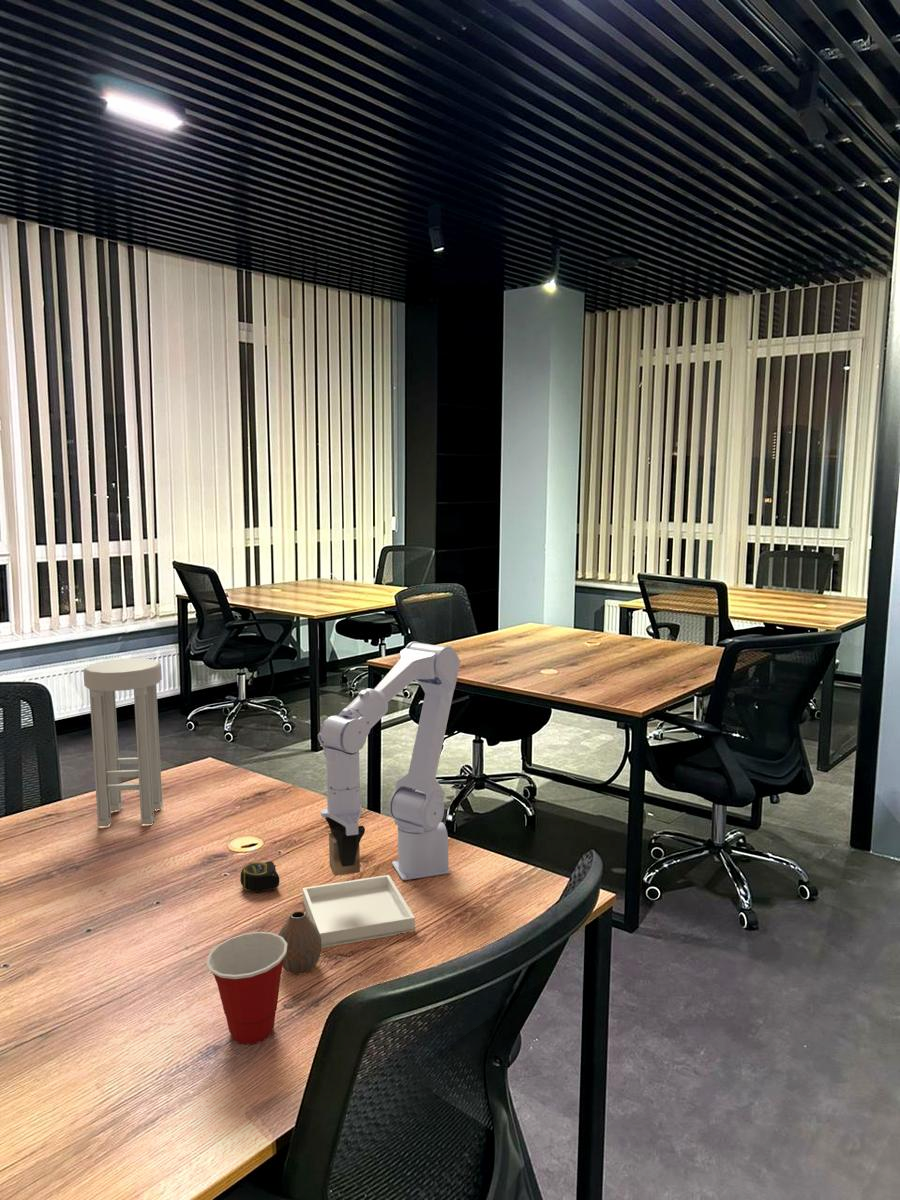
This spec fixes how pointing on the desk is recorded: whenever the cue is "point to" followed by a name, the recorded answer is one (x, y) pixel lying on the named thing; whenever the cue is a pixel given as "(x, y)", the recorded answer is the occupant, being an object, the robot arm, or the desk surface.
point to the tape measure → (259, 876)
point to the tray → (357, 910)
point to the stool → (105, 739)
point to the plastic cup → (249, 982)
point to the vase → (300, 943)
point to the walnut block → (335, 859)
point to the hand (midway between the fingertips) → (345, 859)
